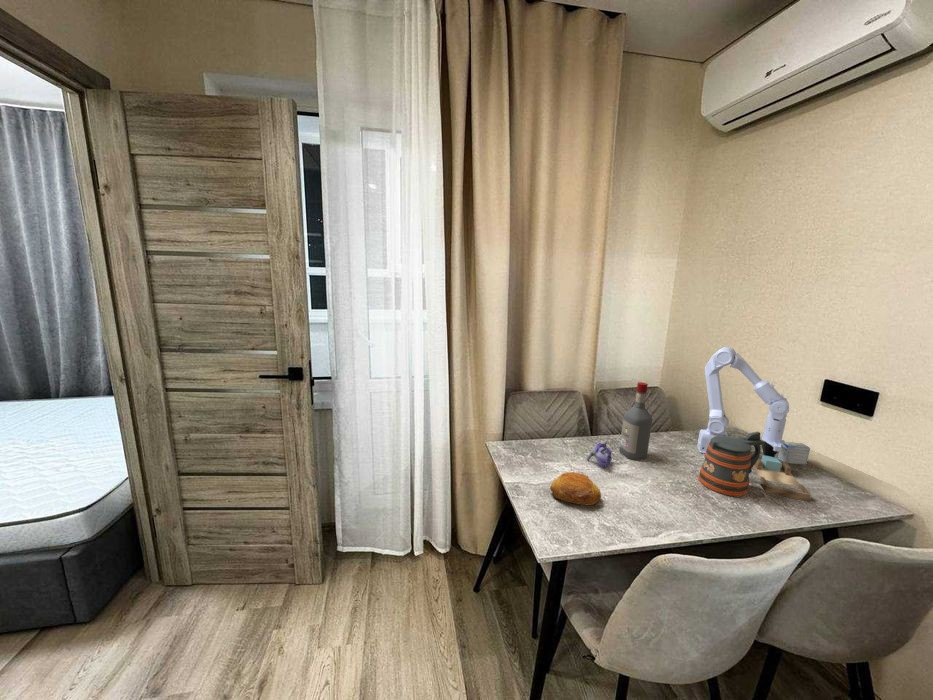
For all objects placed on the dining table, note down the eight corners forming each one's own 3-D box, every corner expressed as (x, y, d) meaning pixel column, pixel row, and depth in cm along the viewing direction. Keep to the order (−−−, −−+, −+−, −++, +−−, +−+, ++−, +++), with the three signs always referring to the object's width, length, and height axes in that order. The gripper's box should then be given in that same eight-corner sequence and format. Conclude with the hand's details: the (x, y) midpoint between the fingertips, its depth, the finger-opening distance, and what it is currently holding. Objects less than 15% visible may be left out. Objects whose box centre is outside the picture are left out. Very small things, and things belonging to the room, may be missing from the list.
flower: (581, 448, 145) (607, 440, 143) (582, 448, 153) (607, 440, 151) (591, 473, 142) (618, 465, 140) (591, 471, 150) (617, 464, 147)
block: (764, 469, 145) (766, 460, 144) (760, 463, 150) (762, 455, 149) (779, 471, 143) (781, 463, 143) (775, 466, 148) (776, 457, 147)
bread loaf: (596, 518, 118) (603, 496, 116) (546, 500, 123) (552, 478, 120) (598, 493, 131) (604, 473, 129) (553, 477, 136) (558, 457, 134)
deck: (765, 492, 132) (767, 480, 131) (745, 459, 155) (747, 449, 154) (809, 501, 127) (812, 489, 126) (782, 466, 151) (784, 456, 150)
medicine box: (797, 462, 155) (802, 442, 153) (806, 468, 150) (810, 447, 148) (776, 461, 155) (781, 441, 154) (784, 466, 151) (789, 446, 149)
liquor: (630, 461, 150) (640, 387, 144) (616, 450, 159) (625, 380, 153) (650, 459, 153) (660, 386, 146) (635, 448, 161) (644, 380, 155)
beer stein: (732, 472, 145) (741, 422, 141) (769, 494, 131) (781, 439, 127) (688, 475, 141) (697, 424, 137) (722, 498, 127) (733, 442, 123)
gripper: (794, 437, 139) (786, 472, 142) (780, 423, 152) (773, 455, 155) (770, 433, 142) (763, 467, 144) (759, 420, 155) (752, 451, 157)
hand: (767, 461), depth 150 cm, fingers closed
